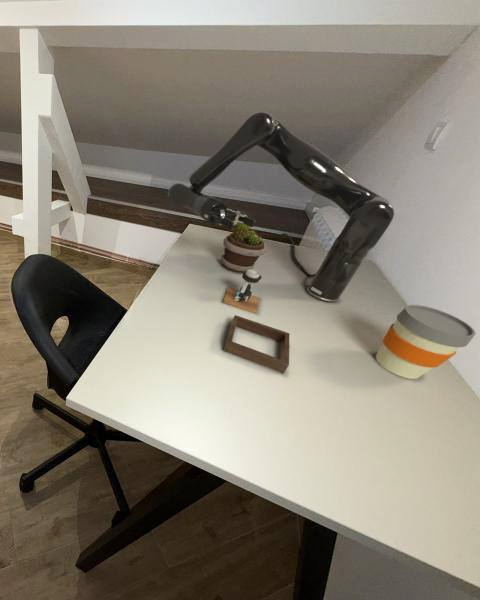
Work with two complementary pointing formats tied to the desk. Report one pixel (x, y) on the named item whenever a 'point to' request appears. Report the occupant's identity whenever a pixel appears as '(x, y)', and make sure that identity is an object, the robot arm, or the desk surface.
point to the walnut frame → (255, 355)
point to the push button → (247, 284)
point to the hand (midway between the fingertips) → (243, 224)
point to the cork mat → (246, 305)
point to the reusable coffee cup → (422, 341)
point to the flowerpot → (242, 249)
